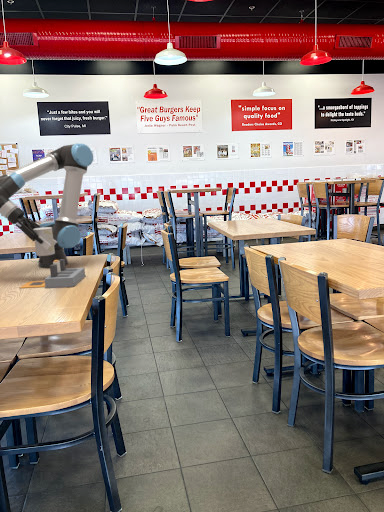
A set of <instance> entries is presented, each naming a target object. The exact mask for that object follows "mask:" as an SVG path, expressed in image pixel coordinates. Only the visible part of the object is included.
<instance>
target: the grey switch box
mask: <svg viewBox="0 0 384 512" xmlns="http://www.w3.org/2000/svg"><path fill="white" fill-rule="evenodd" d="M59 261H60V269H61V272H59V273H58V272H57V264H52V265H50V267H49V271H50V275H48V276H46V277H45V278H44V280H43V281H45V287H44V288H45V289H57V288H58V289H59V288H74V287H75V286H76V285H77V284H79V282H81V281H82V280H83V279H84V278H85V277H86V269H85V267H75V268H73V267H72V268H71V267H70V268H67V267H66V265H65V259H60V260H59Z"/></svg>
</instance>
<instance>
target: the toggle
mask: <svg viewBox="0 0 384 512" xmlns="http://www.w3.org/2000/svg"><path fill="white" fill-rule="evenodd" d="M53 264H57V272H58V273H59V272H61V269H60V261H59V260H54V262H53Z"/></svg>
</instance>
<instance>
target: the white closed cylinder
mask: <svg viewBox="0 0 384 512" xmlns="http://www.w3.org/2000/svg"><path fill="white" fill-rule="evenodd" d="M33 230H34V231H35V233H36V234H37V235H38V237H39V236H41V237H42V238H43V239H44V240H45V241H47V242H48V243H49V244H50V245H51V246H50V247H49V248H48V250H46V249H45V248H44V247H43V246H42V245H40V244H39V243H38V242H37V241H36V240H35V241H34V247H35V255H36V256H38V257H40V256H47V255H52V254H55V249H54V241H53V233H52V227H43V228H35V229H33Z"/></svg>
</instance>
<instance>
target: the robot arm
mask: <svg viewBox="0 0 384 512" xmlns="http://www.w3.org/2000/svg"><path fill="white" fill-rule="evenodd" d="M93 161H94V153H93V152H92V150H91V148H90V147H89V146H88V145H87V144H85V143H72V144H66V145H63V146H61V147H58V148H57V149H55V150H52V151H51V152H48V153H47V154H45V156H44V157H42V158H39V159H37V160H35V161H32V162H30V163H28V164H26V165H24V166H20V167H19V168H16V169H14V170H11V171H9V172H6V173H4V174H3V175H0V216H1V217H3V218H5V219H7V222H9V223H11V224H12V225H15V226H16V227H17V228H18V229H19V230H20V231H22V232H23V234H24V235H26V236H27V237H28V238H29V239H30V240H32V242H35V240H36V241H37V242H38V243H39V244H40V245H42V246H43V247H44V248H45V249H46V250H48V248H49V247H50V246H51V245H50V244H49V243H48V242H47V241H45V240H44V239H43V238H42V237H41V236H39V237H38V235H37V234H36V233H35V231H34V230H33V229H35V228H43V227H52V233H53V241H54V249H55V254H52V255H47V256H39V258H38V263H37V264H38V267H39V268H43V269H44V268H45V269H46V268H49V269H50V265H52V264H53V262H54V260H60V259H65V266H66V265H68V264H69V262H68V261H69V260H68V258H67V255H66V253H65V251H64V249H71V248H75V246H77V245H78V244H79V243H80V240H81V238H82V234H81V231H80V229H79V222H78V221H77V216H78V209H79V204H80V203H79V202H80V196H81V191H82V183H83V178H84V175H85V174H87V172H88V167H89V166H90V165H91V164H92V163H93ZM62 169H64V171H65V177H64V182H63V188H62V189H63V190H62V194H61V195H62V196H61V201H60V206H59V207H60V209H59V213H58V217H57V218H55V220H54V221H51V222H45V223H44V222H43V223H39V224H38V223H36V222H35V221H34V220H33V219H32V218H30V217H28V218H27V217H26V216H25V214H26V213H25V211H24V210H23V209H21V208H20V207H18V205H17V204H16V203H15V202H13V201H12V200H11V197H13V196H14V195H15V194H16V193H17V192H19V191H20V190H22V189H23V187H24V186H25V185H26V183H28V182H30V181H32V180H34V179H37V178H39V177H41V176H43V175H45V174H47V173H49V172H52V171H54V172H57V171H59V170H62Z"/></svg>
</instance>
